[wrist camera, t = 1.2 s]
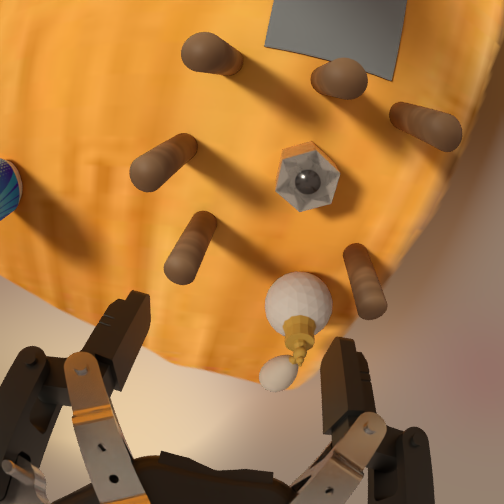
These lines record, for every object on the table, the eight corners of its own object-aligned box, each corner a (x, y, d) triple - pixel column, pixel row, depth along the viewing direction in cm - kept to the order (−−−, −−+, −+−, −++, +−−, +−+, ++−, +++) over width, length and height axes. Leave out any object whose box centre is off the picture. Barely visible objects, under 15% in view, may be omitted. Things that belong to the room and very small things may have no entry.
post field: (184, 44, 22) (142, 31, 14) (419, 98, 22) (469, 110, 15) (165, 226, 33) (132, 273, 25) (361, 266, 33) (379, 321, 25)
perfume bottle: (334, 263, 33) (351, 344, 23) (318, 323, 38) (324, 400, 28) (269, 256, 33) (261, 338, 23) (262, 318, 39) (254, 396, 28)
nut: (285, 134, 26) (286, 143, 23) (336, 147, 26) (345, 157, 23) (273, 190, 29) (271, 206, 26) (321, 201, 29) (326, 218, 26)
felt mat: (283, -40, 16) (283, -41, 16) (406, -4, 16) (407, -5, 16) (264, 46, 22) (264, 46, 21) (391, 80, 22) (391, 80, 22)
